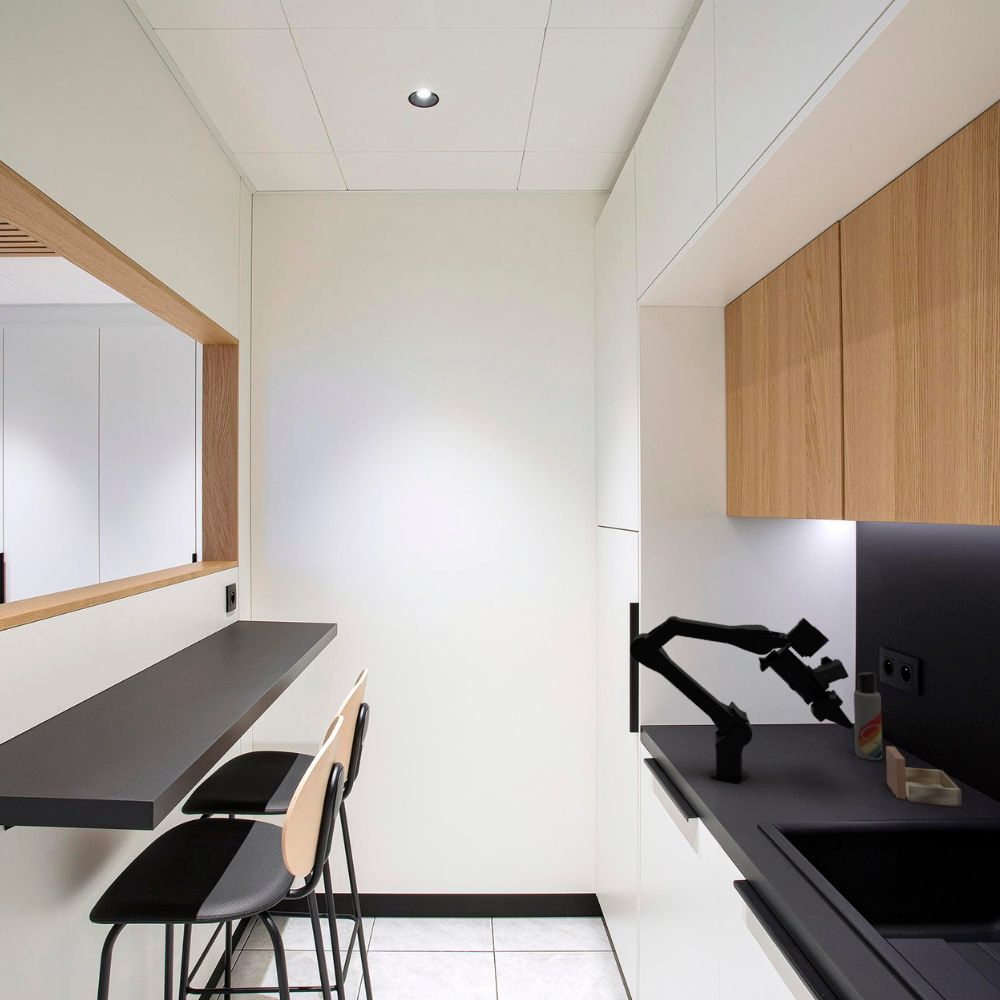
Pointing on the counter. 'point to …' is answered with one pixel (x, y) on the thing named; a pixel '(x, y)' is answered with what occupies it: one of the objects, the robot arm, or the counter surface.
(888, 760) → the drawer panel
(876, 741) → the lotion bottle
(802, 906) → the counter surface
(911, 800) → the tray
